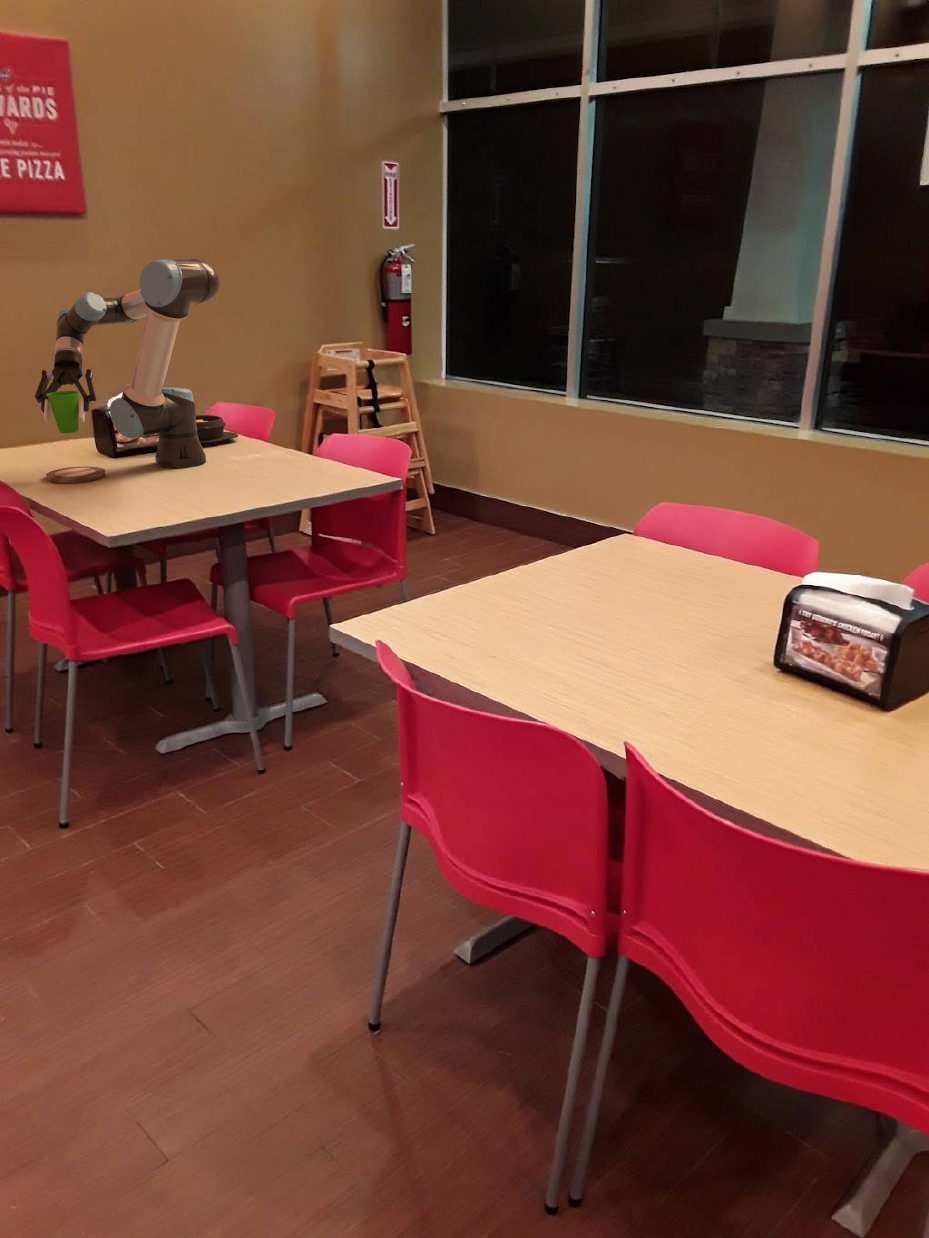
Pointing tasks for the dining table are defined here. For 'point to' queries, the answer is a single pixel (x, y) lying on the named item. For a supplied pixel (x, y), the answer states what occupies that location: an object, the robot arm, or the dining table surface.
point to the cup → (65, 410)
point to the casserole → (212, 430)
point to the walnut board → (75, 475)
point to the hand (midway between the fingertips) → (64, 420)
